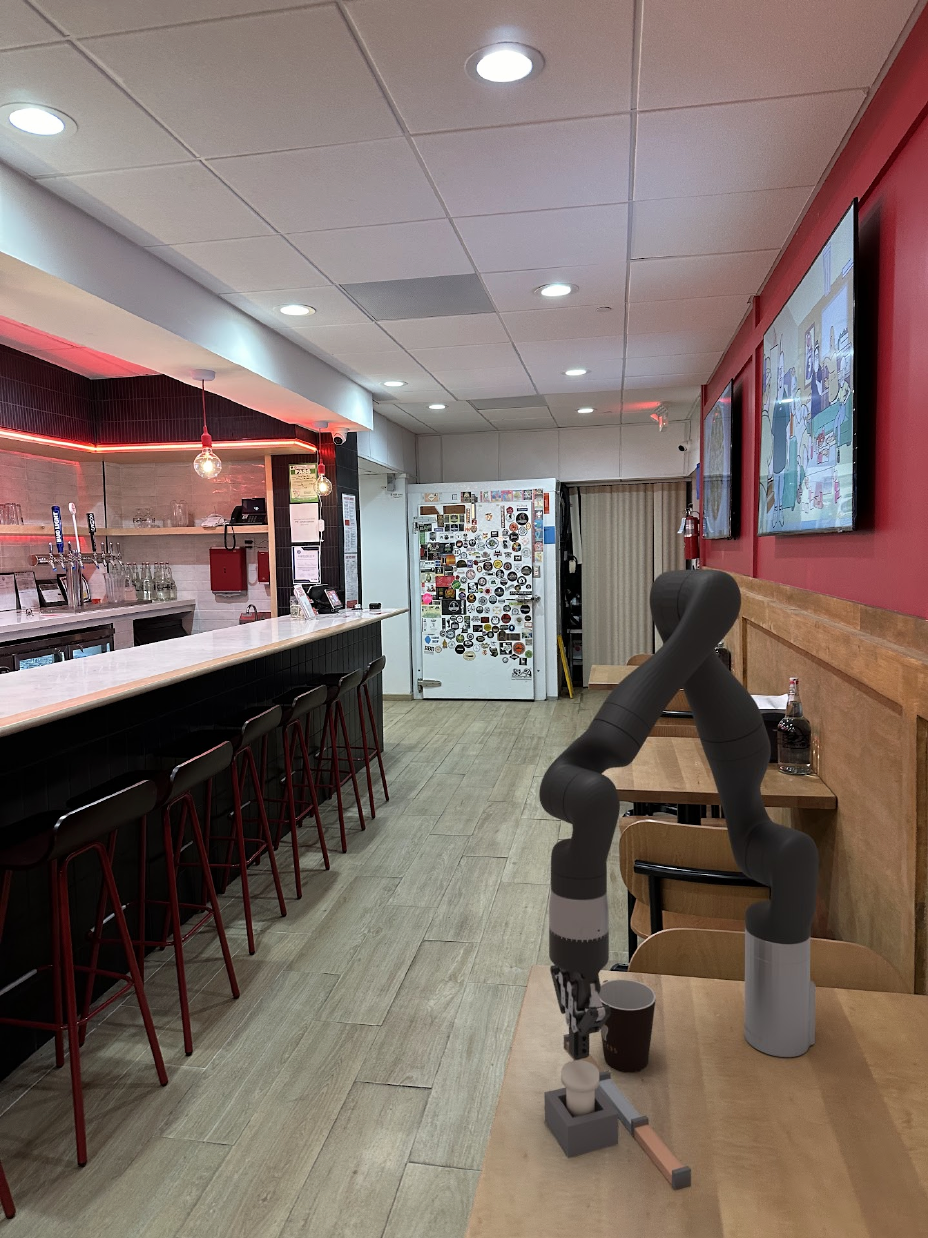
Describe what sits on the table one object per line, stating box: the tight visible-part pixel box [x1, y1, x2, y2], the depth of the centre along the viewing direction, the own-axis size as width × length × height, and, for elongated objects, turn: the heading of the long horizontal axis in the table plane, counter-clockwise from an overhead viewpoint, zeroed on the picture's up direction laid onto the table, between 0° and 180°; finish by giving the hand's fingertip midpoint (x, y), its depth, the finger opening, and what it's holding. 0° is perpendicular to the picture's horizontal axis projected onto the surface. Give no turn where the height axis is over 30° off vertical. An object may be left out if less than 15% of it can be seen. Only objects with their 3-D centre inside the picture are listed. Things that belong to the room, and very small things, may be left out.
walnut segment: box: [563, 1033, 605, 1073], centre depth 121 cm, size 2×10×2 cm, turn 18°
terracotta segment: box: [630, 1115, 692, 1191], centre depth 102 cm, size 2×10×2 cm, turn 19°
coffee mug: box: [599, 978, 657, 1074], centre depth 123 cm, size 12×9×10 cm
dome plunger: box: [560, 1060, 599, 1118], centre depth 106 cm, size 5×5×6 cm
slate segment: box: [598, 1070, 642, 1133], centre depth 111 cm, size 2×10×2 cm, turn 19°
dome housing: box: [543, 1086, 619, 1159], centre depth 106 cm, size 7×7×4 cm
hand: (579, 1055), depth 106 cm, fingers closed
